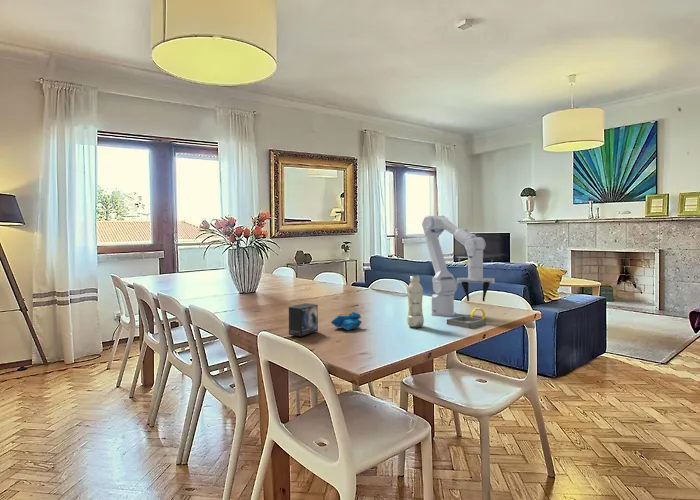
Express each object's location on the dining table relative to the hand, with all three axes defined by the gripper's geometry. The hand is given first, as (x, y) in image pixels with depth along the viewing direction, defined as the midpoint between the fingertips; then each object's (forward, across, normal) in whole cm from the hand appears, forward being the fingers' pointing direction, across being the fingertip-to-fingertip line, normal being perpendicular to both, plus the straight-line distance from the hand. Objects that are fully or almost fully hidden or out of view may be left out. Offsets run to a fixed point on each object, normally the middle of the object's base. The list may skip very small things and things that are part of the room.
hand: (475, 300), depth 176 cm
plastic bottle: (+9, -22, -13) cm, 27 cm away
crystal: (+6, -43, -17) cm, 47 cm away
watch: (+9, +1, +2) cm, 9 cm away
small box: (+9, -62, -32) cm, 70 cm away
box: (+9, -4, -6) cm, 11 cm away
